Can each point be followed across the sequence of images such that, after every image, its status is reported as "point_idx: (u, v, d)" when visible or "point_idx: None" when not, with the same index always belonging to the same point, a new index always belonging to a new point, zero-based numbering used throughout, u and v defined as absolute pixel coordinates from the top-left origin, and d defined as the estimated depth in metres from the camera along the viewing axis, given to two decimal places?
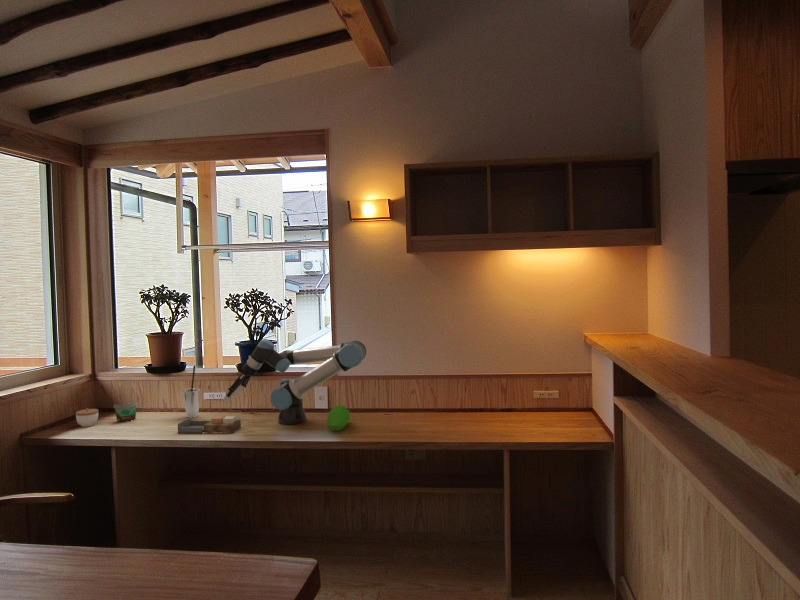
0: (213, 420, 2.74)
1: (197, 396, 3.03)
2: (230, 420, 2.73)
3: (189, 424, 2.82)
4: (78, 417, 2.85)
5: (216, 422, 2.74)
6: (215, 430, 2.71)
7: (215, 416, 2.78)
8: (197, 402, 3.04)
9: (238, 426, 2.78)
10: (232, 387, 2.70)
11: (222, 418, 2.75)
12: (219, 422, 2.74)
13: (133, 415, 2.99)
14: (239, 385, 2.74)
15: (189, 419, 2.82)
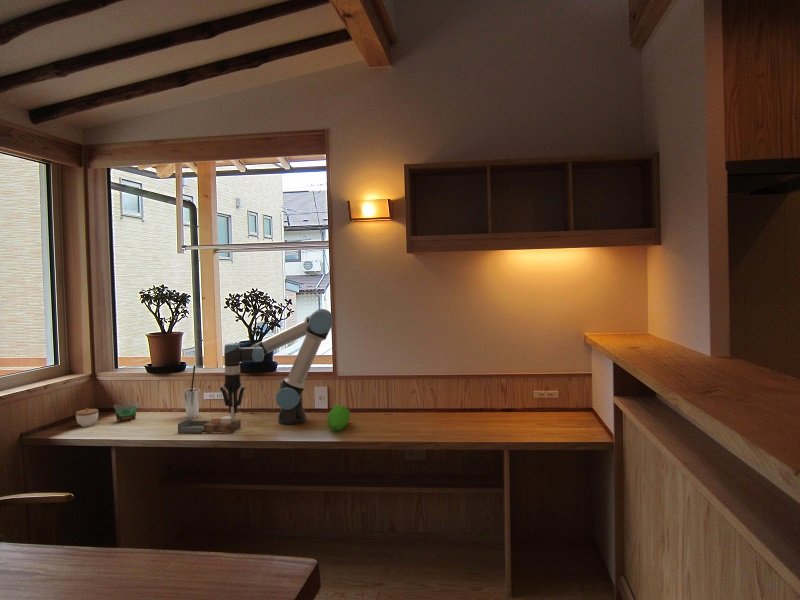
0: (213, 420, 2.74)
1: (197, 396, 3.03)
2: (228, 420, 2.73)
3: (189, 424, 2.82)
4: (78, 417, 2.85)
5: (216, 422, 2.74)
6: (215, 430, 2.71)
7: (215, 416, 2.78)
8: (197, 402, 3.04)
9: (238, 426, 2.78)
10: (240, 401, 2.75)
11: None
12: (219, 422, 2.74)
13: (133, 415, 2.99)
14: None
15: (189, 419, 2.82)
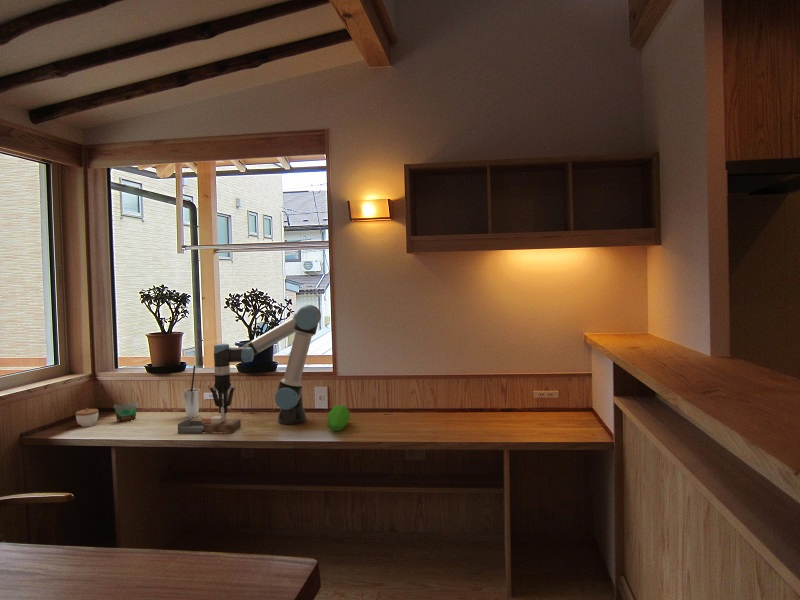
0: (203, 420, 2.75)
1: (197, 396, 3.03)
2: (218, 420, 2.74)
3: (189, 424, 2.82)
4: (78, 417, 2.85)
5: (206, 422, 2.74)
6: (215, 430, 2.71)
7: (205, 416, 2.79)
8: (197, 402, 3.04)
9: (238, 426, 2.78)
10: (230, 402, 2.75)
11: None
12: (209, 422, 2.74)
13: (133, 415, 2.99)
14: None
15: (189, 419, 2.82)
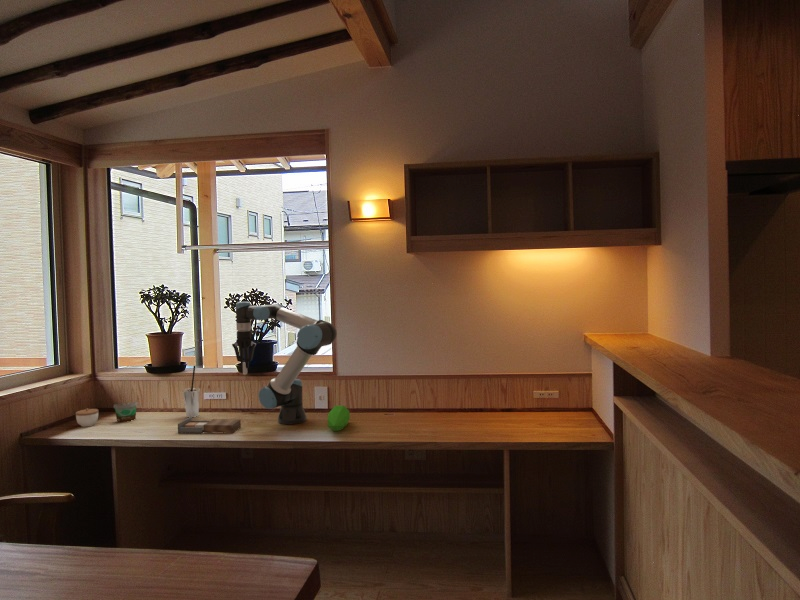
0: None
1: (197, 396, 3.03)
2: (202, 426, 2.75)
3: None
4: (78, 417, 2.85)
5: (189, 426, 2.75)
6: (215, 430, 2.71)
7: None
8: (197, 402, 3.04)
9: (238, 426, 2.78)
10: (251, 357, 2.88)
11: None
12: (186, 426, 2.75)
13: (133, 415, 2.99)
14: None
15: (189, 419, 2.82)
